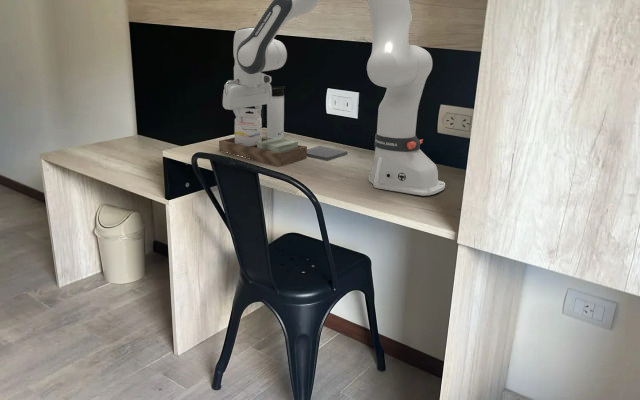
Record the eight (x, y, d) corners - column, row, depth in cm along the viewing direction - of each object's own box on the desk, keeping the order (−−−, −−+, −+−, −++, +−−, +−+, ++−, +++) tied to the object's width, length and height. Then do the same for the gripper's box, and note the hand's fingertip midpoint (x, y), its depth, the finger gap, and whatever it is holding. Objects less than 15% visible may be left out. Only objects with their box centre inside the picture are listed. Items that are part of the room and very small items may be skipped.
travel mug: (283, 141, 209) (284, 87, 202) (266, 141, 209) (266, 87, 202) (285, 138, 214) (285, 85, 208) (268, 137, 215) (268, 85, 208)
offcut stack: (299, 158, 186) (299, 141, 184) (280, 165, 177) (280, 147, 176) (274, 154, 191) (274, 136, 189) (254, 160, 182) (254, 142, 181)
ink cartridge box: (234, 153, 190) (233, 110, 185) (237, 149, 195) (237, 107, 190) (259, 154, 189) (258, 111, 185) (262, 151, 194) (261, 108, 189)
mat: (347, 154, 193) (347, 151, 193) (327, 160, 184) (327, 157, 184) (319, 148, 200) (319, 145, 199) (298, 154, 191) (298, 151, 190)
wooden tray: (306, 158, 186) (306, 146, 185) (279, 166, 176) (279, 154, 174) (247, 145, 201) (247, 134, 200) (219, 152, 191) (218, 140, 189)
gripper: (231, 81, 174) (232, 125, 179) (274, 77, 190) (274, 117, 194) (217, 79, 178) (218, 122, 182) (261, 75, 194) (261, 115, 198)
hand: (248, 119), depth 189 cm, fingers closed on ink cartridge box, 7 cm apart
